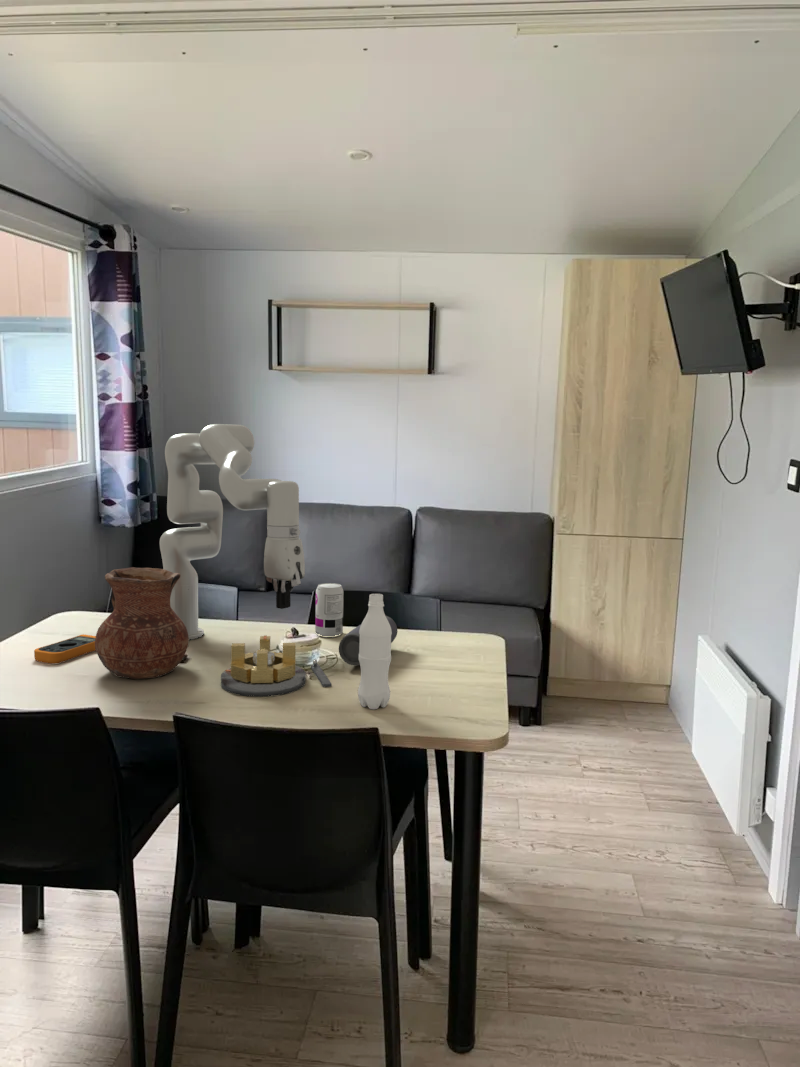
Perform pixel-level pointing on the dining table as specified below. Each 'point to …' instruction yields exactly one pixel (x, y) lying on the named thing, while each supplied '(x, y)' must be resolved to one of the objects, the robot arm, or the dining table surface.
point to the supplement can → (329, 609)
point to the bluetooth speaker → (351, 644)
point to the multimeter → (65, 649)
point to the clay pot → (141, 625)
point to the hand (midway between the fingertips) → (283, 607)
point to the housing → (263, 688)
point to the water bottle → (374, 655)
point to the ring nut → (263, 663)
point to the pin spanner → (320, 674)
